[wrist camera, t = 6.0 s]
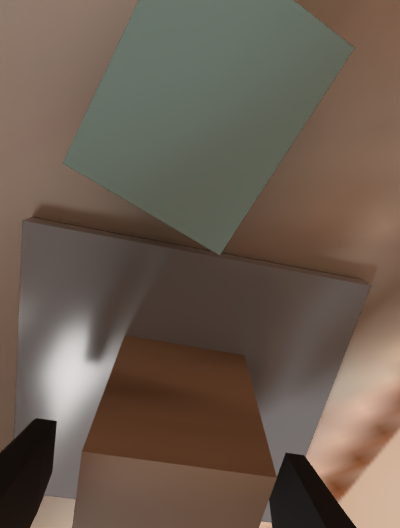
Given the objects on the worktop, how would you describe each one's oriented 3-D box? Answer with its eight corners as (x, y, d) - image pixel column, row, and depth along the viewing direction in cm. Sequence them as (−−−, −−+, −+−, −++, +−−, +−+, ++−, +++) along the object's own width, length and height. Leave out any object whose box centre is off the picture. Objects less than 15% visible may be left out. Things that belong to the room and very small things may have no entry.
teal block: (210, 222, 12) (219, 255, 8) (107, 160, 11) (62, 163, 7) (294, 87, 10) (354, 48, 7) (184, 6, 10) (180, -90, 6)
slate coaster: (276, 510, 16) (279, 523, 15) (18, 478, 15) (11, 491, 14) (362, 279, 12) (370, 285, 12) (31, 217, 11) (22, 220, 11)
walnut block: (218, 447, 14) (232, 599, 9) (109, 431, 13) (65, 582, 9) (244, 355, 12) (276, 477, 8) (124, 335, 12) (81, 451, 7)
